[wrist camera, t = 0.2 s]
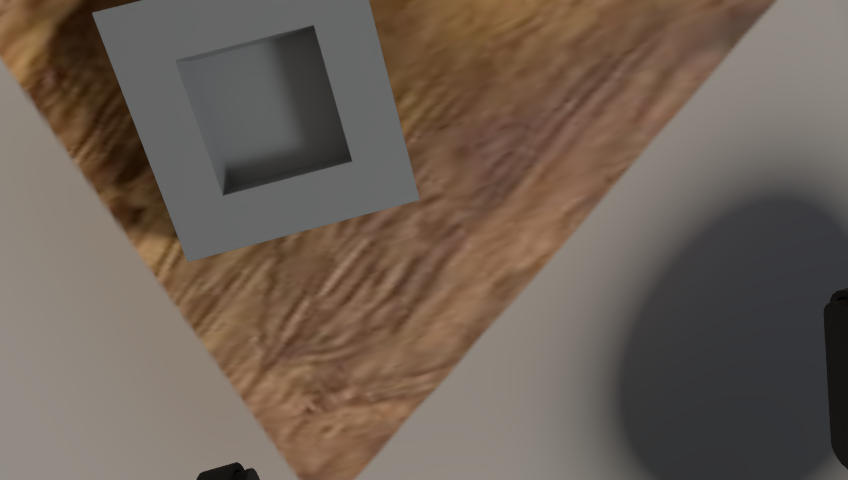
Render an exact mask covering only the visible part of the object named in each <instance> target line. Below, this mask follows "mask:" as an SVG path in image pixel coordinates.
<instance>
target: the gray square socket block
mask: <svg viewBox="0 0 848 480" xmlns="http://www.w3.org/2000/svg"><path fill="white" fill-rule="evenodd" d="M92 15H93V17H94V20H95V22H96V25H97V28H98V30H99V33H100V35H101V38H102V41H103V43H104V46H105V48H106V51H107V54H108V56H109V59H110V61H111V64H112V67H113V69H114V72H115V74H116V77H117V80H118V82H119V85H120V88H121V90H122V93H123V95H124V98H125V101H126V103H127V106H128V108H129V111H130V114H131V116H132V119H133V121H134V124H135V127H136V129H137V132H138V134H139V137H140V140H141V142H142V145H143V147H144V150H145V153H146V155H147V158H148V160H149V163H150V166H151V168H152V171H153V173H154V176H155V179H156V181H157V184H158V186H159V189H160V192H161V194H162V197H163V199H164V202H165V205H166V207H167V210H168V212H169V215H170V218H171V220H172V223H173V225H174V228H175V231H176V233H177V236H178V238H179V241H180V244H181V246H182V249H183V251H184V254H185V257H186V259H187V262H190V261H193V260H197V259H201V258H205V257H208V256H212V255H216V254H219V253H223V252H227V251H231V250H234V249H238V248H242V247H246V246H249V245H253V244H257V243H261V242H264V241H268V240H272V239H275V238H279V237H283V236H287V235H290V234H294V233H298V232H302V231H305V230H309V229H313V228H317V227H320V226H324V225H328V224H331V223H335V222H339V221H343V220H346V219H350V218H354V217H358V216H361V215H365V214H369V213H373V212H376V211H380V210H384V209H387V208H391V207H395V206H399V205H402V204H406V203H410V202H414V201H417V200H420V199H419V195H418V191H417V187H416V184H415V180H414V176H413V172H412V168H411V164H410V160H409V156H408V152H407V148H406V144H405V140H404V136H403V133H402V129H401V125H400V121H399V117H398V113H397V109H396V105H395V101H394V97H393V93H392V89H391V85H390V82H389V78H388V74H387V70H386V66H385V62H384V58H383V54H382V50H381V46H380V42H379V38H378V35H377V31H376V27H375V23H374V19H373V15H372V11H371V7H370V3H369V0H141V1H137V2H133V3H129V4H125V5H121V6H117V7H113V8H109V9H105V10H101V11H97V12H93V13H92Z"/></svg>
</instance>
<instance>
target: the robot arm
mask: <svg viewBox="0 0 848 480" xmlns="http://www.w3.org/2000/svg"><path fill="white" fill-rule="evenodd" d="M824 328H825V344H826V362H827V379H828V396H829V414H830V431H831V444H832V448H833V451H834V453H835V455H836V456H837V458H838V460H839V461H840V462H841V464H842V465H844V466H845V467H846V468H847V469H848V288H846V289H843V290H839V291H836V293H834V294H833V295H832V297H831V299H830V303H828V304H827V305H826V306H825V308H824ZM197 480H260V479H259V477H258V475H257V472H256V471H255V470H254V469H253V468H250V469H246V470H244V468H243V467H242V465H241V464H240V463H237V462H236V463H232V464H229V465H226V466H222V467H219V468H215V469H211V470H208V471H204V472H202V473H200V474H199V476H198V478H197Z"/></svg>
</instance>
